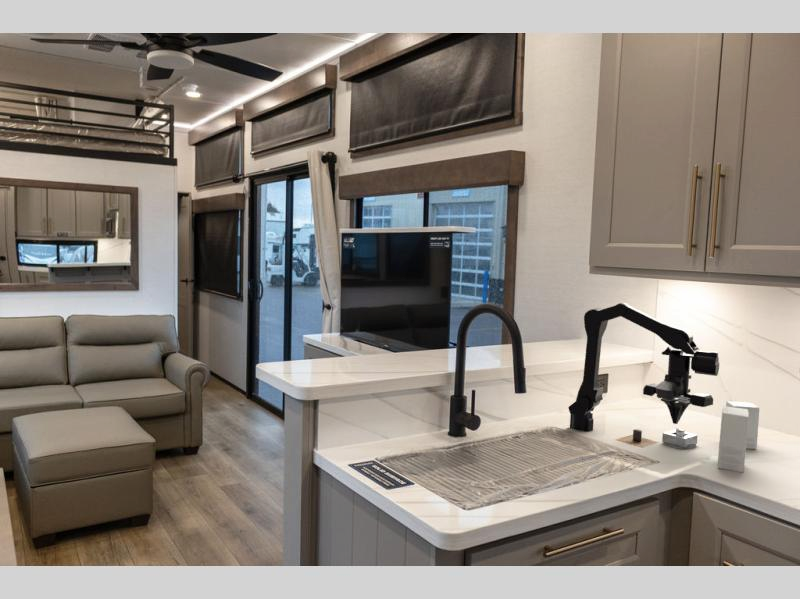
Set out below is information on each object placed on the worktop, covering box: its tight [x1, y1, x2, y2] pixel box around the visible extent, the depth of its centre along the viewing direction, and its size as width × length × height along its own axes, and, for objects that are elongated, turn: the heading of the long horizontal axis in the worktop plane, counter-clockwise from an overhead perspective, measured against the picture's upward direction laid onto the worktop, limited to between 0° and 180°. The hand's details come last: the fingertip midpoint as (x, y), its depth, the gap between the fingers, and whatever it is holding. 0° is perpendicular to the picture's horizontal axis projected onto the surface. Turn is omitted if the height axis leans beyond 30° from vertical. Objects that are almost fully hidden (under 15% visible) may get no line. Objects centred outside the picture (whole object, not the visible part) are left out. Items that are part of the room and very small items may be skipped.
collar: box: [661, 429, 698, 448], centre depth 188 cm, size 7×7×3 cm
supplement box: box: [725, 400, 760, 450], centre depth 192 cm, size 7×7×13 cm
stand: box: [615, 429, 660, 448], centre depth 190 cm, size 9×9×4 cm
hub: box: [662, 427, 697, 450], centre depth 188 cm, size 9×9×6 cm
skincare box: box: [717, 405, 749, 473], centre depth 172 cm, size 8×7×16 cm
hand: (675, 423), depth 186 cm, fingers closed
